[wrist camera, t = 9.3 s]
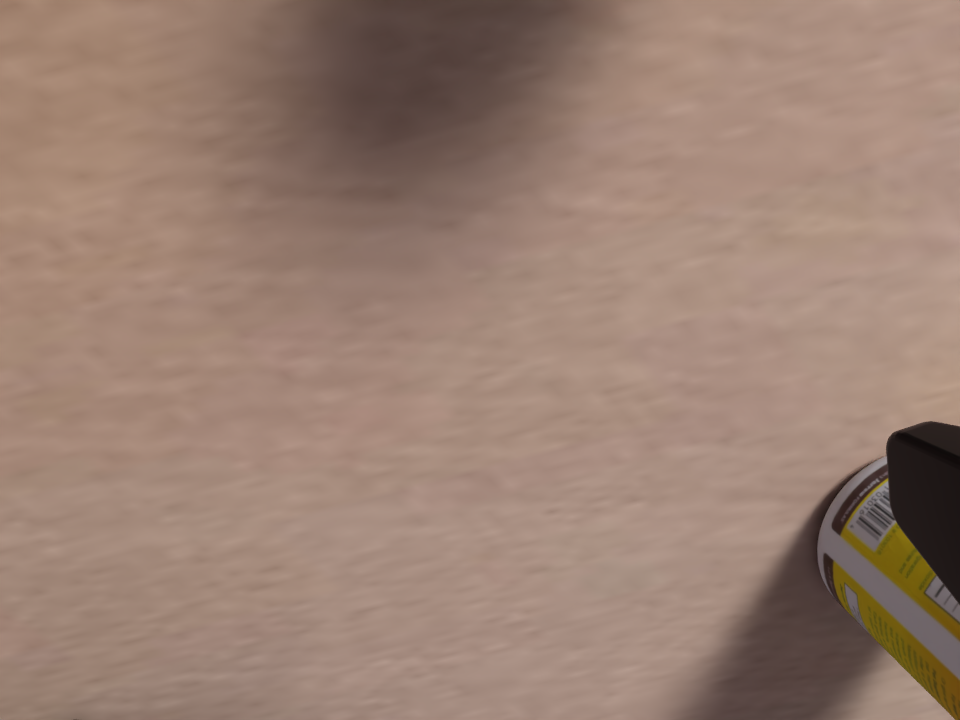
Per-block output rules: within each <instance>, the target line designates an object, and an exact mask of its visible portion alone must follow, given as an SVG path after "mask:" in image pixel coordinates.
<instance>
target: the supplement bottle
mask: <svg viewBox="0 0 960 720" xmlns="http://www.w3.org/2000/svg"><path fill="white" fill-rule="evenodd" d="M817 556H818V564H819V569H820V573H821V576H822V579H823V581H824V583H825V585H826V587H827V589H828V590H829V592H830V593H831V595H832V596H833V597H834V598H835V599H836V600H837V601H838V602H839V604H840V605H841V606H842V607H843V608H844V609H845V610H846V611H847V612H848V613H849V614H850V615H851V616H852V617H853V618H854V619H855V620H856V621H857V622H858V623H859V624H860V625H861V626H862V627H863V628H864V629H865V630H866V631H867V632H868V633H869V634H870V635H871V636H872V637H873V638H874V639H875V640H876V641H877V642H878V643H879V644H880V645H881V646H882V647H883V648H884V649H885V650H886V651H887V652H888V653H889V654H890V655H891V656H892V657H893V658H894V659H895V660H896V661H897V662H898V663H899V664H900V665H901V666H902V667H903V668H904V669H905V670H906V671H907V672H908V673H909V674H910V675H911V676H912V677H913V678H914V679H915V680H916V681H917V682H918V683H919V684H920V685H921V686H922V687H923V688H924V689H925V690H926V691H927V692H928V693H929V694H930V695H931V696H932V697H933V698H934V699H935V700H936V701H937V702H938V703H939V704H940V705H941V706H942V707H943V708H944V709H945V710H946V711H947V712H948V713H949V714H950V715H951V716H952V717H953V718H954V719H955V720H960V605H959V604H958V602H957V601H956V600H955V599H954V597H953V596H952V595H951V593H950V592H949V591H948V589H947V588H946V587H945V586H944V584H943V583H942V582H941V580H940V579H939V578H938V577H937V575H936V574H935V573H934V571H933V570H932V569H931V568H930V566H929V565H928V564H927V562H926V561H925V560H924V559H923V557H922V556H921V555H920V553H919V552H918V551H917V549H916V548H915V547H914V546H913V544H912V543H911V542H910V540H909V539H908V538H907V537H906V535H905V534H904V533H903V531H902V530H901V529H900V527H899V526H898V524H897V522H896V521H895V519H894V516H893V514H892V511H891V507H890V502H889V487H888V470H887V456H885V457H882V458H880V459H878V460H876V461H875V462H873V463H872V464H870V465H868V466H867V467H865V468H864V469H862V470H861V471H860V472H859V473H857V474H856V475H855V476H854V477H853V478H852V479H851V480H850V481H849V482H848V483H847V484H846V485H845V486H844V487H843V488H842V489H841V491H840V492H839V493H838V494H837V496H836V497H835V499H834V500H833V502H832V503H831V505H830V507H829V509H828V511H827V513H826V515H825V517H824V519H823V522H822V526H821V529H820V533H819V538H818V546H817Z"/></svg>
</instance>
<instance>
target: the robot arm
mask: <svg viewBox="0 0 960 720" xmlns="http://www.w3.org/2000/svg"><path fill="white" fill-rule="evenodd" d="M886 454H887V470H888V487H889V502H890V507H891V511H892V514H893V516H894V519H895V521H896V522H897V524H898V526H899V527H900V529H901V530H902V531H903V533H904V534H905V535H906V537H907V538H908V539H909V540H910V542H911V543H912V544H913V546H914V547H915V548H916V549H917V551H918V552H919V553H920V555H921V556H922V557H923V559H924V560H925V561H926V562H927V564H928V565H929V566H930V568H931V569H932V570H933V571H934V573H935V574H936V575H937V577H938V578H939V579H940V580H941V582H942V583H943V584H944V586H945V587H946V588H947V589H948V591H949V592H950V593H951V595H952V596H953V597H954V599H955V600H956V601H957V602H958V604H959V605H960V426H955V425H949V424H944V423H939V422H932V421H929V422H923V423H920V424H917V425H914V426H911V427H908V428H905V429H902V430H899V431H896V432H894V433H892V435H891V436H890V437H889V438H888V441H887V445H886Z"/></svg>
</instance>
